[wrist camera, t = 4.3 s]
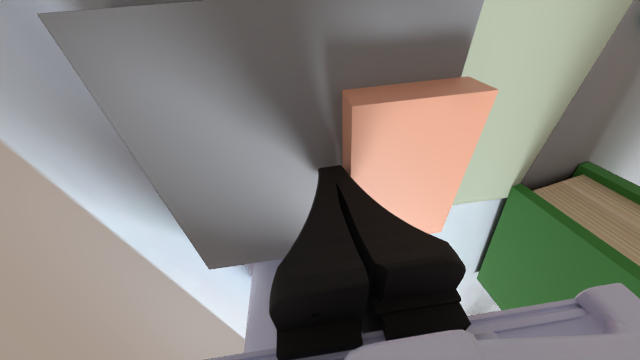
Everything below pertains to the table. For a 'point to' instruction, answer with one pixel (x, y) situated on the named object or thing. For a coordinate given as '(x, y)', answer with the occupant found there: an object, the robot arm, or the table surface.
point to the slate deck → (250, 98)
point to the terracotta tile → (414, 143)
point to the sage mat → (529, 80)
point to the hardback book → (564, 240)
